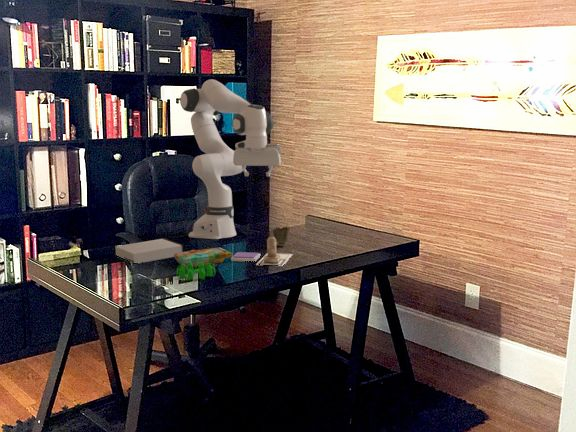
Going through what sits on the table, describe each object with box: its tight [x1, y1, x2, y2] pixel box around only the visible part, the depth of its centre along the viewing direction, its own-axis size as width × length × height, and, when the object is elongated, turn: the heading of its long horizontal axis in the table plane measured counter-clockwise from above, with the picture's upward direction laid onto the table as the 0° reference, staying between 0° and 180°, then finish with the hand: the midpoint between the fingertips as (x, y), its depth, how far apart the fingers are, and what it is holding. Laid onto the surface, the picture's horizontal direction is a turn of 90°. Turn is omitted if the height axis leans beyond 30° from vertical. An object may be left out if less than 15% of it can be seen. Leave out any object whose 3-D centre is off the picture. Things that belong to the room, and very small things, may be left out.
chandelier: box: [176, 258, 216, 282], centre depth 241 cm, size 15×15×7 cm
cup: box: [272, 226, 290, 248], centre depth 286 cm, size 8×7×8 cm
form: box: [255, 253, 294, 267], centre depth 263 cm, size 11×19×1 cm, turn 168°
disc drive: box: [115, 237, 185, 264], centre depth 273 cm, size 18×22×5 cm
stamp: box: [263, 236, 280, 264], centre depth 258 cm, size 6×4×10 cm
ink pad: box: [230, 251, 262, 263], centre depth 265 cm, size 10×9×2 cm
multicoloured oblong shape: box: [173, 247, 233, 268], centre depth 261 cm, size 12×5×20 cm
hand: (257, 176), depth 279 cm, fingers open, 8 cm apart
